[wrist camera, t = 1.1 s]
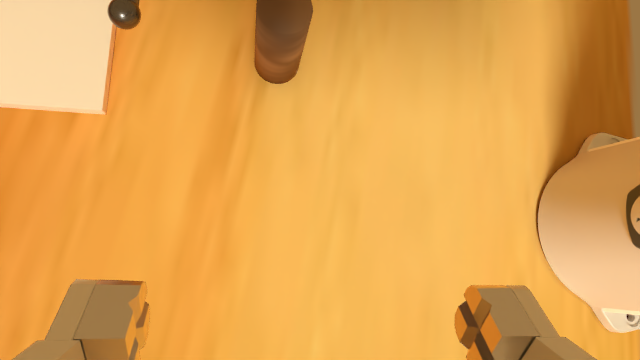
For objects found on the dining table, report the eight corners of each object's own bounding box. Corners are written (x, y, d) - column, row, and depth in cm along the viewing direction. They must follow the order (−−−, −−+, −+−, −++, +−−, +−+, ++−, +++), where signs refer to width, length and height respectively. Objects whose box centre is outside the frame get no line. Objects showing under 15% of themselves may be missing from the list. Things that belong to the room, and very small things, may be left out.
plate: (121, -16, 39) (117, -23, 38) (105, 114, 37) (102, 110, 36) (-30, -33, 37) (-37, -40, 36) (-55, 103, 35) (-64, 98, 34)
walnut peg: (299, 44, 41) (313, -15, 32) (297, 85, 40) (312, 36, 31) (255, 40, 40) (258, -21, 31) (253, 81, 39) (255, 30, 31)
